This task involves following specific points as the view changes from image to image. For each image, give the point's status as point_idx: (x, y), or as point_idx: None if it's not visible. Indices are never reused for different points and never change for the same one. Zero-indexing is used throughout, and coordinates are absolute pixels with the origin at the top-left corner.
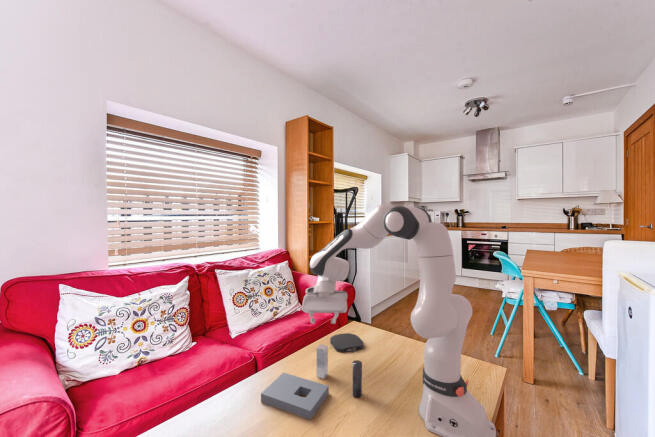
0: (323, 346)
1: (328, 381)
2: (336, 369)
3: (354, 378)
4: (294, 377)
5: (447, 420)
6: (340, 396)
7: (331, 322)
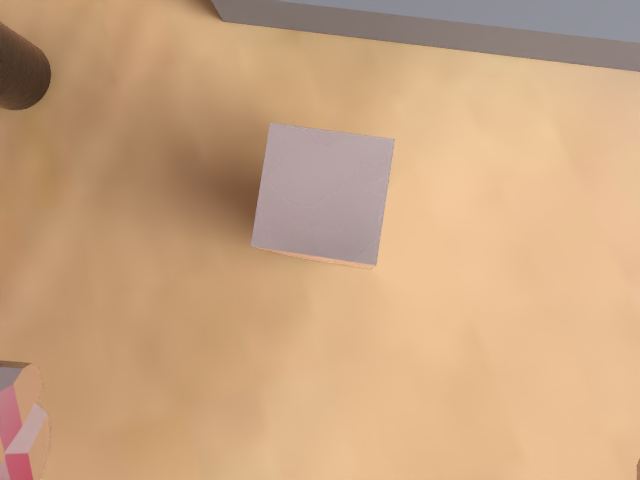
0: (308, 213)
1: None
2: (245, 358)
3: None
4: (545, 7)
5: None
6: (132, 22)
7: (12, 366)
